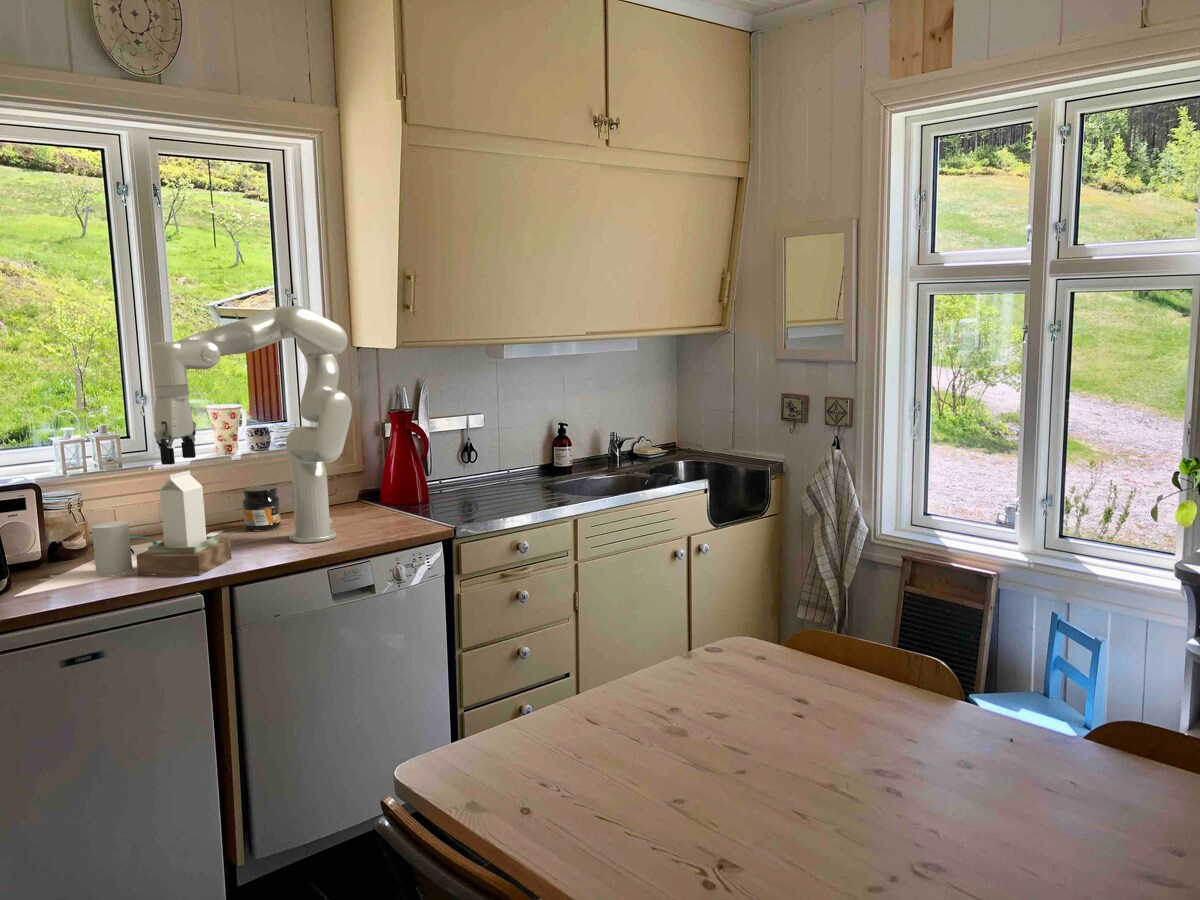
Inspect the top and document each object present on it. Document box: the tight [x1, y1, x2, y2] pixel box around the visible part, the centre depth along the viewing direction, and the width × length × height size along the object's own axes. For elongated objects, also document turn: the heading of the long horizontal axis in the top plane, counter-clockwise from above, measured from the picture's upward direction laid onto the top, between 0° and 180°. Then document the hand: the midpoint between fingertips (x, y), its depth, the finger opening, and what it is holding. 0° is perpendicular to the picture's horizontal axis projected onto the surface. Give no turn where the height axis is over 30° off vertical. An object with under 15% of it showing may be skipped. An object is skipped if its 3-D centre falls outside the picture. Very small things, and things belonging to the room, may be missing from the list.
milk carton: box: [159, 470, 207, 547], centre depth 244 cm, size 7×7×19 cm
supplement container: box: [241, 485, 282, 532], centre depth 289 cm, size 10×10×12 cm
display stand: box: [135, 535, 233, 576], centre depth 245 cm, size 16×16×6 cm
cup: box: [91, 520, 133, 577], centre depth 242 cm, size 8×8×12 cm
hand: (179, 460), depth 242 cm, fingers open, 9 cm apart
